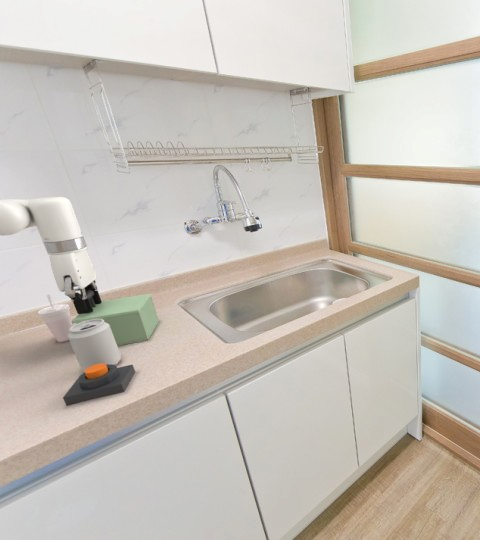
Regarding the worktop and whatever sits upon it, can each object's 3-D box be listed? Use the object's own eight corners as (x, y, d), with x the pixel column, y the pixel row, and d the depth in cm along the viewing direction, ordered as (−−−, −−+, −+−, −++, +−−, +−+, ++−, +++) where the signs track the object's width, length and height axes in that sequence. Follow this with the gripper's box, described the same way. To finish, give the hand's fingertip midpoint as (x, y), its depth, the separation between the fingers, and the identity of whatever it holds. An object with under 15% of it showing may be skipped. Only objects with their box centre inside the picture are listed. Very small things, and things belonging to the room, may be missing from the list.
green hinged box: (87, 351, 89) (76, 323, 86) (105, 330, 100) (95, 304, 97) (148, 340, 94) (139, 312, 91) (159, 321, 105) (151, 296, 102)
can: (84, 379, 78) (66, 335, 74) (81, 367, 83) (63, 324, 79) (124, 365, 83) (109, 322, 79) (119, 354, 88) (104, 313, 84)
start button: (84, 381, 71) (81, 374, 71) (91, 372, 75) (88, 365, 74) (104, 376, 73) (102, 370, 72) (111, 367, 76) (108, 361, 75)
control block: (66, 406, 70) (59, 390, 68) (83, 383, 76) (76, 369, 75) (124, 392, 73) (118, 377, 72) (135, 371, 80) (130, 357, 79)
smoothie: (54, 346, 92) (34, 301, 88) (47, 340, 95) (27, 296, 91) (84, 336, 97) (66, 292, 93) (76, 330, 101) (59, 288, 96)
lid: (72, 323, 86) (63, 303, 84) (92, 305, 97) (85, 286, 95) (139, 312, 91) (132, 293, 89) (151, 295, 102) (145, 278, 100)
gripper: (63, 240, 92) (86, 299, 98) (27, 256, 77) (57, 325, 83) (97, 237, 94) (118, 294, 100) (69, 251, 80) (94, 318, 86)
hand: (90, 307), depth 92 cm, fingers closed on lid, 5 cm apart
